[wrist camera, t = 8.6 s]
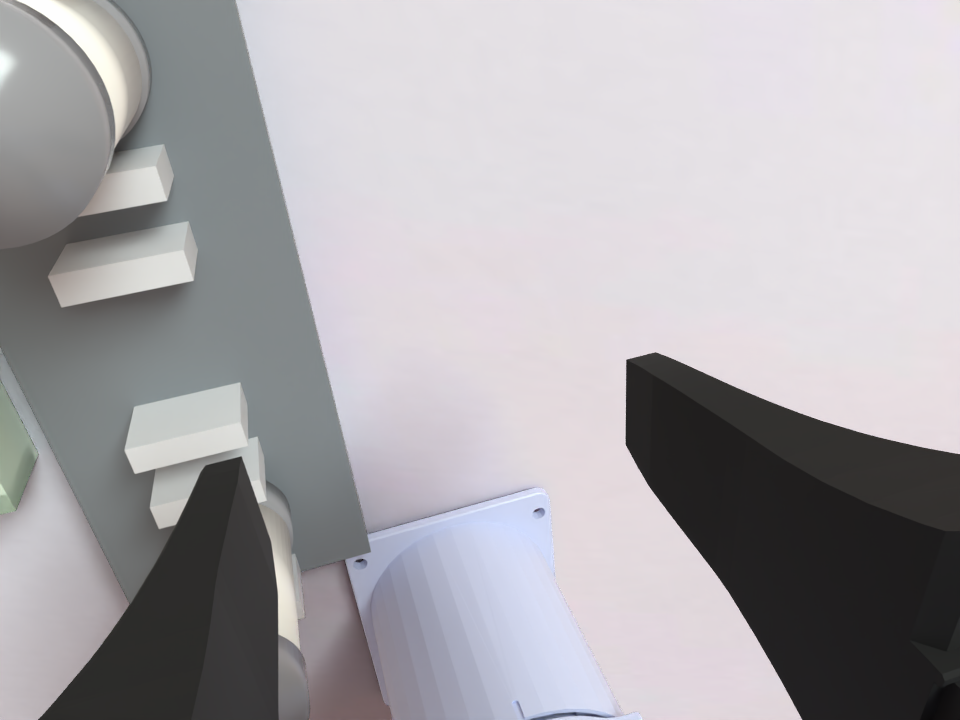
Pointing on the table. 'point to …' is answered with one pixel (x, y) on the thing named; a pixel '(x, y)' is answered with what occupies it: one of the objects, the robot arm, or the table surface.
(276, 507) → the fuse
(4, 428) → the tray
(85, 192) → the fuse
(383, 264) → the table surface
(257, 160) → the clip board
